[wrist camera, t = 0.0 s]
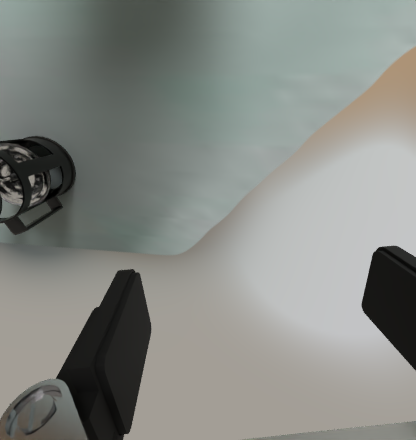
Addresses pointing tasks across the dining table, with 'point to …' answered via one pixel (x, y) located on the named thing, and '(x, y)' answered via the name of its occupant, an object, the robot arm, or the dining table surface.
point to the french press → (32, 178)
